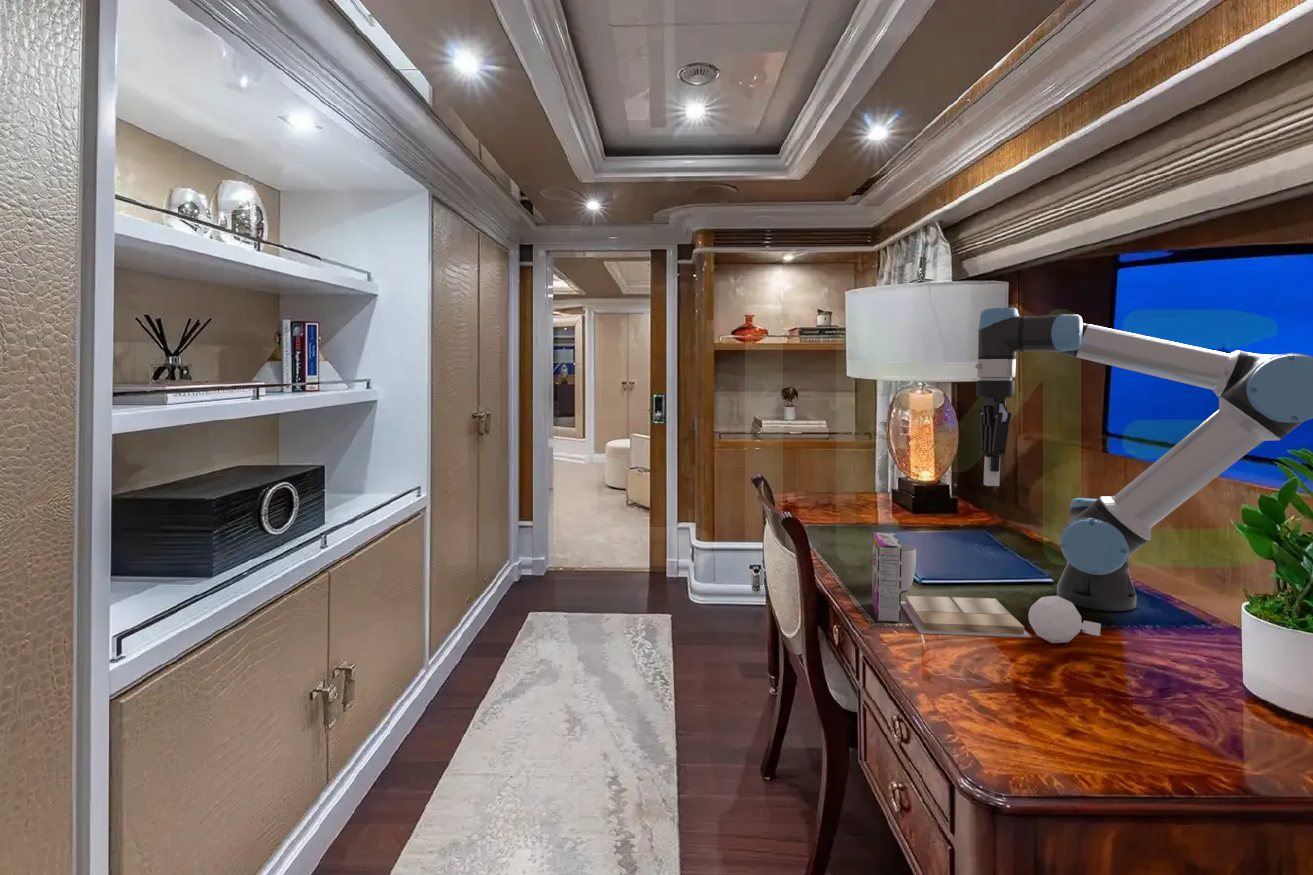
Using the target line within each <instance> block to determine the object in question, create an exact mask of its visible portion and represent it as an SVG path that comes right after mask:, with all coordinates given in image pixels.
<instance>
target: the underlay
mask: <svg viewBox="0 0 1313 875" xmlns="http://www.w3.org/2000/svg"><path fill="white" fill-rule="evenodd" d="M901 608H902V609H903V610H904V612H905V613H906V614H907V616H908V618H909V619H910V621H911V622H912V624H913V625H914V627H915V629H916V630H917V632H918V633H919V634H926V635H927V634H930V635H953V636H975V637H976V636H977V637H978V636H980V637H981V636H982V637H1003V638H1004V637H1005V638H1008V637H1009V638H1030V639H1031V638H1032V635H1031V633H1029V632H1028V631H1026V630H1025V629H1024V634H1011V633H985V632H958V631H932V630H923V629H922V627H921V626H920V624H919V623H918V621H917V620H916V618H915V616H914V615H913V613H912V612H911V610H910V608H909V607H908V605H907V604H906V602H905V601H903V600H901Z"/></svg>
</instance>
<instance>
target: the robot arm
mask: <svg viewBox="0 0 1313 875" xmlns="http://www.w3.org/2000/svg"><path fill="white" fill-rule="evenodd" d="M979 314H980V316H979V322H978V323H979V326H978V330H977V332H978V334H977V336H978V338H977V340H978V345H977V347H978V348H977V364H975V369H977V372H976V373H977V374H976V377H977V378H978V379H979V378H980V380H977V381H976V397H977V398H984V401H983V405H982V407H981V408H979V409H978V415H979V428H980V430H979V431H980V451H981V452H983V455H984V465H983V486H986V487H1000V476H1001V475H1000V474H1001V459H1002V458H1001V457H1003V456H1005V455H1006V451H1007V450H1006V449H1007V441H1008V433H1009V425H1010V421H1011V417H1012V412H1008V406H1007V403H1006V402H1007V401H1006V399H1007V398H1013V397H1014V396H1015V383H1016V381H1014V380H1013V379H1014V378H1015V377H1016V373H1017V372H1016V371H1017V356H1016V355H1017V353H1018V352H1052V353H1055V354H1061V355H1064V356H1069V357H1074V358H1079V359H1081V360H1082V359H1083V360H1086V361H1092V362H1095V363H1099V364H1103V365H1107V366H1112V367H1116V368H1119V369H1124V370H1128V371H1131V372H1132V371H1133V372H1137V373H1141V374H1145V375H1149V376H1153V377H1158V378H1161V379H1167V380H1170V381H1173V382H1178V383H1183V384H1186V385H1191V386H1195V387H1199V388H1203V389H1207V390H1211V391H1213V393H1214V394H1215V395H1216V397H1218V404H1219V405H1218V409H1217V410H1216V411H1215V412H1214V413H1213V414H1211V415H1210V416H1209V417H1208V418H1207V419H1206V420H1204V421H1203V422H1202V423H1200V425H1198V426H1197V427H1196V428H1194V429H1193V430H1191V432H1190V433H1189V434H1187V435H1186V436H1185V437H1183V439H1181V440H1180V441H1179V442H1177V444H1175V445H1174V446H1173V447H1171V448H1170V450H1168V451H1167V452H1166V453H1164V454H1163V455H1162V456H1160V458H1158V459H1157V460H1156V461H1155V462H1153V463H1152V464H1151V465H1150V466H1148V467H1147V469H1145V470H1143V472H1142V473H1140V474H1139V475H1138V476H1136V477H1135V478H1134V479H1133V480H1132V481H1131V482H1129V483H1128V484H1127V485H1125V487H1123V488H1122V489H1121V490H1120V491H1119V492H1117V493H1116V494H1114V495H1112V496H1104V495H1103V496H1099V498H1097V499H1096V498H1087V497H1086V498H1085V497H1082V498H1081V497H1077V498H1076V497H1075V498H1073V499H1071V501H1070V505H1069V506H1070V507H1069V508H1068V511H1069V521H1068V523H1067V524H1066V526H1065V527H1064V528H1063V530H1062V531H1061V534H1060V536H1059V542H1060V543H1059V544H1060V549H1061V552H1062V555H1063V557H1064V558H1065V560H1066V565H1065V567H1064V569H1063V572H1062V573H1061V576H1060V578H1059V580H1058V583H1057V584H1056V585H1057V586H1056V596H1059V597H1061V598H1063V599H1065V600H1068V601H1070V602H1072V603H1073V604H1074V606H1079V607H1082V608H1087V609H1092V610H1098V611H1106V612H1126V611H1132V610H1133V609H1135V608H1137V599H1138V598H1137V593H1136V590H1135V587H1134V584H1133V580H1132V577H1131V574H1130V570H1129V568H1130V556H1132V554H1133V553H1135V552H1136V551H1137V550H1139V549H1140V548H1141V547H1143V546H1144V545H1145V544H1146V543H1148V542H1149V541H1151V540H1152V528H1153V527H1154V526H1156V524H1158V523H1159V522H1161V521H1162V520H1163V519H1164V518H1166V517H1167V516H1168V515H1169V514H1171V513H1172V512H1173V511H1174V510H1175V511H1176V509H1178V508H1179V507H1180V506H1181V505H1182V504H1184V503H1185V502H1187V501H1188V500H1189V499H1190V498H1192V496H1194V495H1195V494H1197V493H1198V492H1199V491H1200V490H1202V489H1203V488H1205V486H1207V485H1208V484H1209V483H1211V482H1212V481H1213V480H1215V479H1216V478H1217V477H1219V476H1221V474H1222V473H1224V472H1225V471H1226V470H1227V469H1229V468H1230V467H1231V466H1233V465H1234V464H1235V463H1237V462H1238V461H1239V460H1240V459H1242V458H1243V457H1244V456H1245V455H1247V454H1248V453H1249V452H1251V451H1252V450H1253V449H1255V448H1256V447H1257V446H1259V444H1261V443H1262V442H1266V441H1267V442H1268V441H1280V440H1281V439H1283V438H1284V437H1285V436H1287V435H1289V433H1291V432H1292V431H1293V430H1294V429H1296V428H1297V427H1299V426H1300V425H1301V424H1302V423H1304V422H1307V421H1309V420H1312V419H1313V356H1311V355H1308V354H1304V353H1303V354H1302V353H1299V352H1297V353H1296V352H1291V353H1289V352H1287V353H1282V354H1261V353H1253V352H1247V351H1243V350H1239V349H1238V350H1234V351H1232V352H1231V353H1226V352H1223V351H1218V350H1212V349H1208V348H1203V347H1199V346H1195V345H1194V346H1193V345H1189V344H1184V343H1180V342H1175V341H1170V340H1166V339H1161V338H1157V337H1152V336H1146V335H1142V334H1138V333H1132V332H1128V331H1122V330H1119V329H1118V330H1117V329H1113V328H1108V327H1104V326H1100V325H1094V324H1089V323H1085V322H1083V318H1082V316H1081V315H1079V314H1075V313H1074V314H1067V313H1060V314H1051V315H1050V314H1047V315H1045V314H1044V315H1035V316H1032V315H1031V316H1021V315H1020V314H1019V310H1018V309H1017V308H1016V307H993V308H992V307H990V308H985V309H983V310H982V311H981V312H980V313H979Z"/></svg>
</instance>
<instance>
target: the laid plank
mask: <svg viewBox="0 0 1313 875" xmlns="http://www.w3.org/2000/svg"><path fill="white" fill-rule="evenodd" d="M915 618H916V620H917V621H918V623H919V624H920V626H921V627H922V629H923V630H932V631H958V632H985V633H1011V634H1024V630H1025V626H1024V625H1023V624H1022V623H1021V622H1020V621H1019V620H1018V619H1017V618H1016V617H1014V616H1013V615H1012V614H1011V615H1004V614H975V613H946V612H917V611H916V615H915Z"/></svg>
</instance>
